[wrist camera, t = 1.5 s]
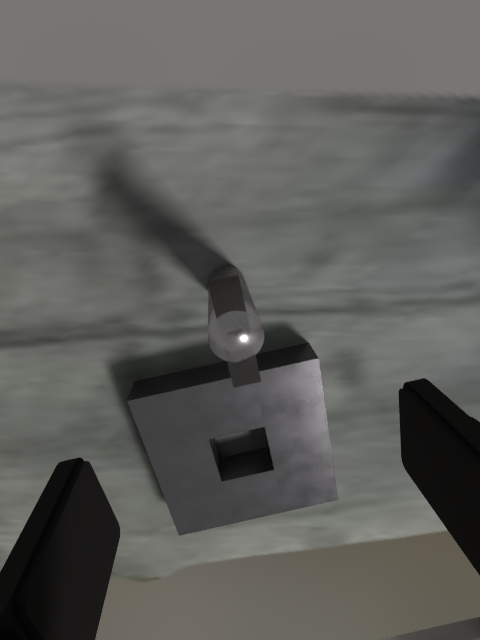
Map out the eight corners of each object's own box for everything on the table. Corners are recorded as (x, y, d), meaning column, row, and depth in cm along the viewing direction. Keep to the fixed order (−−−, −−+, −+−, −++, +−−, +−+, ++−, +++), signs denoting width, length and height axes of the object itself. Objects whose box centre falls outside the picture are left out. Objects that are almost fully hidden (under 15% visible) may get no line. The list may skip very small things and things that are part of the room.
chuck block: (308, 342, 32) (318, 358, 29) (328, 476, 37) (338, 499, 35) (134, 381, 32) (127, 401, 29) (181, 509, 37) (179, 535, 35)
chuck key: (236, 243, 28) (253, 277, 18) (251, 312, 30) (273, 378, 20) (200, 251, 28) (195, 290, 18) (217, 320, 30) (221, 390, 20)
